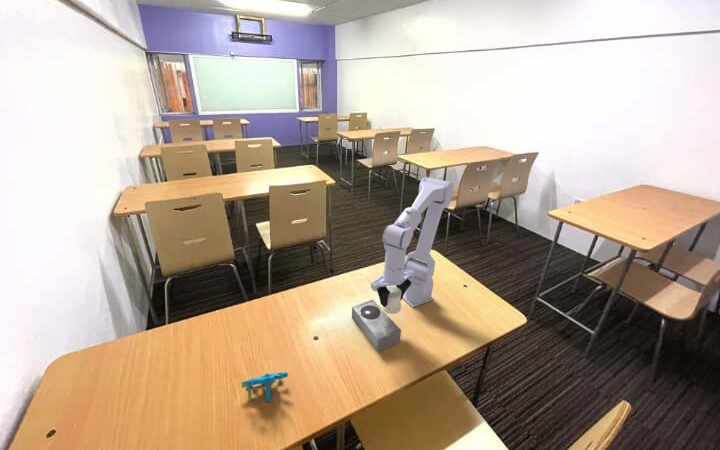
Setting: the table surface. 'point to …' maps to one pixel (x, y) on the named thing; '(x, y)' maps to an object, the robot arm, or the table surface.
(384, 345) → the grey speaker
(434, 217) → the robot arm
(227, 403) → the table surface
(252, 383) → the blue legged part
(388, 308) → the white cabinet knob
